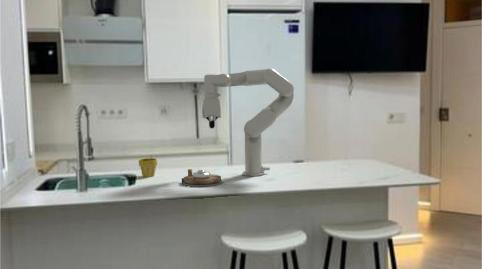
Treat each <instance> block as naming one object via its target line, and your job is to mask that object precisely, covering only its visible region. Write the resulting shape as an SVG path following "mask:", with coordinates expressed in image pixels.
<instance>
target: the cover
mask: <svg viewBox="0 0 482 269" xmlns="http://www.w3.org/2000/svg"><path fill="white" fill-rule="evenodd" d="M210 174H211V172H209V171H206V170H203V169H199V170H197V171H196V172H195V171H194V172H192V175H193V179H199V180H201V179H209V178H210Z"/></svg>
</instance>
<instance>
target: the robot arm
mask: <svg viewBox="0 0 482 269" xmlns="http://www.w3.org/2000/svg"><path fill="white" fill-rule="evenodd" d="M203 81H204V85H203V86H204V98H203V99H202V111H201V112H202V116H201V117H202V119H206V120H207V121H208V128H210V129H215V127H216V125H215V124H216V121H217V119H220V118H222V115H221V114H222V111H221V110H222V109H221V102H220V98H219V97H221V94H220V93H219V91H218V89H219V88H228V87H230V88H231V87H239V86H245V87H249V86H261V85H263V86H264V85H268V86H269V87H270V88H272V89H273V90H274V91H275V92H277V93H278V96H277V97H276V98H275V99H274V100H273V101H272V102H271V103H270V104H268V105H267V106H266V107H264V108H262V110H260V111H259V112H258V113H257V114H256V115H255V116H254V117H252V118H251V119H249V120H248V121H246V122H245V124H244V126H243V132H244V168H245V171H242V175H243V176H247V177H259V176H263V175H265V172H266V171H270V170H271V167H269V166H263V164H262V133H263V132H265V131H266V130H267V129H268V128H270V127H271V126H272V125H273V124H274V123H275V122H276V119H277V118H279V117H280V116H281V115H282V114H284V112H286V111H287V109H289V108H290V106H291V105H292V103H293V100H294V96H295V95H294V90H295V89H294V85H293V84H292V82H290V80H288V79H287V78H285V77H284V76H282V75H281V74H280V73H279V72H278V71H276V70H275V69H274V68H265V69H264V68H263V69H256V70H255V69H253V70H246V71H242V72H235V73H220V74H212V73H211V74H205V75H204V78H203Z"/></svg>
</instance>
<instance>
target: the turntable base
mask: <svg viewBox="0 0 482 269" xmlns="http://www.w3.org/2000/svg"><path fill="white" fill-rule="evenodd" d="M183 178H184V177H182V178H181V185H182V186H184V185H185V187H188V186H190V187H189V188H208V187H209V188H210V187H216V186H220V185H222V184H223V183H224V180H223V179H222V178H221V181H220V182H218V183H213V184H204V185H194V184H187V183H184V180H183Z"/></svg>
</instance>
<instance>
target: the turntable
mask: <svg viewBox="0 0 482 269" xmlns="http://www.w3.org/2000/svg"><path fill="white" fill-rule="evenodd" d="M182 178H183V180H184V183H187V184H194V185H204V184H213V183H218V182H220V181H221V179H222V176H221V175H219V174H211V173H210V178H209V179H201V180H199V179H193V169H192V168H188V169H187V175H185V176H184V177H182Z"/></svg>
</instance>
